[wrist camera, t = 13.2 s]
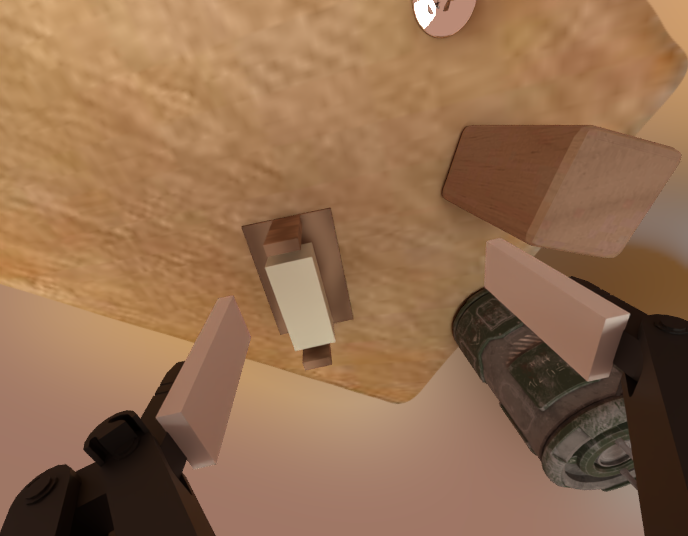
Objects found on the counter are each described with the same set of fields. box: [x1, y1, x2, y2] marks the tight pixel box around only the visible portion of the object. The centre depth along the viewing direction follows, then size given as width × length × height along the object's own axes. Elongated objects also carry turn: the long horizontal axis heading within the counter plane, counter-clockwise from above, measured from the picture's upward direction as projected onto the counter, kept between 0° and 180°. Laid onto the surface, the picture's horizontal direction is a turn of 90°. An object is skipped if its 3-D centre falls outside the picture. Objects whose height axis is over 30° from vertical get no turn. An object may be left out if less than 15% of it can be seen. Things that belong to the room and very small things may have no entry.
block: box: [442, 125, 682, 258], centre depth 33 cm, size 10×10×20 cm
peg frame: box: [242, 208, 353, 370], centre depth 42 cm, size 13×20×10 cm, turn 10°
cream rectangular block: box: [265, 242, 335, 351], centre depth 41 cm, size 6×14×5 cm, turn 11°
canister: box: [453, 288, 638, 492], centre depth 42 cm, size 16×16×28 cm
